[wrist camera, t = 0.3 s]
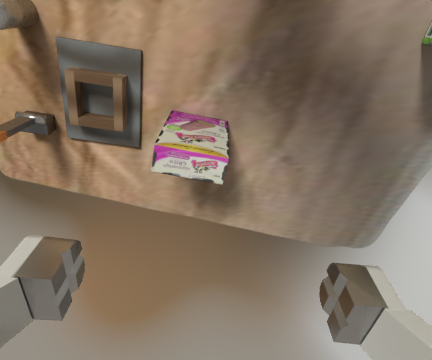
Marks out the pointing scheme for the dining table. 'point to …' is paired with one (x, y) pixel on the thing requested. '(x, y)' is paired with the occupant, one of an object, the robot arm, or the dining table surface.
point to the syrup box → (428, 36)
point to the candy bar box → (192, 148)
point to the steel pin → (17, 14)
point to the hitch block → (101, 91)
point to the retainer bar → (15, 126)
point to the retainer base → (39, 122)
